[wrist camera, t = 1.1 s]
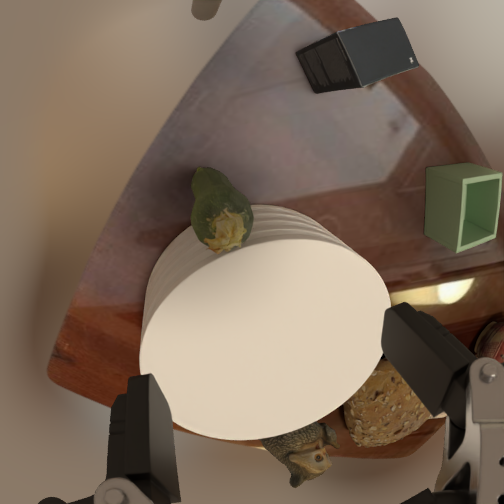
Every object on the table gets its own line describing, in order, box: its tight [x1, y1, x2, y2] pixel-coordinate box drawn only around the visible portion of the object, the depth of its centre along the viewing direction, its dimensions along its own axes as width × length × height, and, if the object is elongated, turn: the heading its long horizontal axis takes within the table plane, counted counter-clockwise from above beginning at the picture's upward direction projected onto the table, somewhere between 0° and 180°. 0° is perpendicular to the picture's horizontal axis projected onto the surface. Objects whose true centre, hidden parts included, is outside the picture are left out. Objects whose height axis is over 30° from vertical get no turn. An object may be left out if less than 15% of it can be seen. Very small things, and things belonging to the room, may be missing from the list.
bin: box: [424, 163, 502, 253], centre depth 39 cm, size 11×11×8 cm
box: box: [296, 18, 419, 93], centre depth 27 cm, size 8×6×11 cm
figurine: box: [258, 421, 340, 488], centre depth 46 cm, size 14×15×15 cm
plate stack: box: [139, 204, 391, 440], centre depth 37 cm, size 28×28×12 cm
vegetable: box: [191, 167, 254, 254], centre depth 25 cm, size 4×4×20 cm
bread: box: [343, 358, 431, 448], centre depth 52 cm, size 24×21×12 cm
